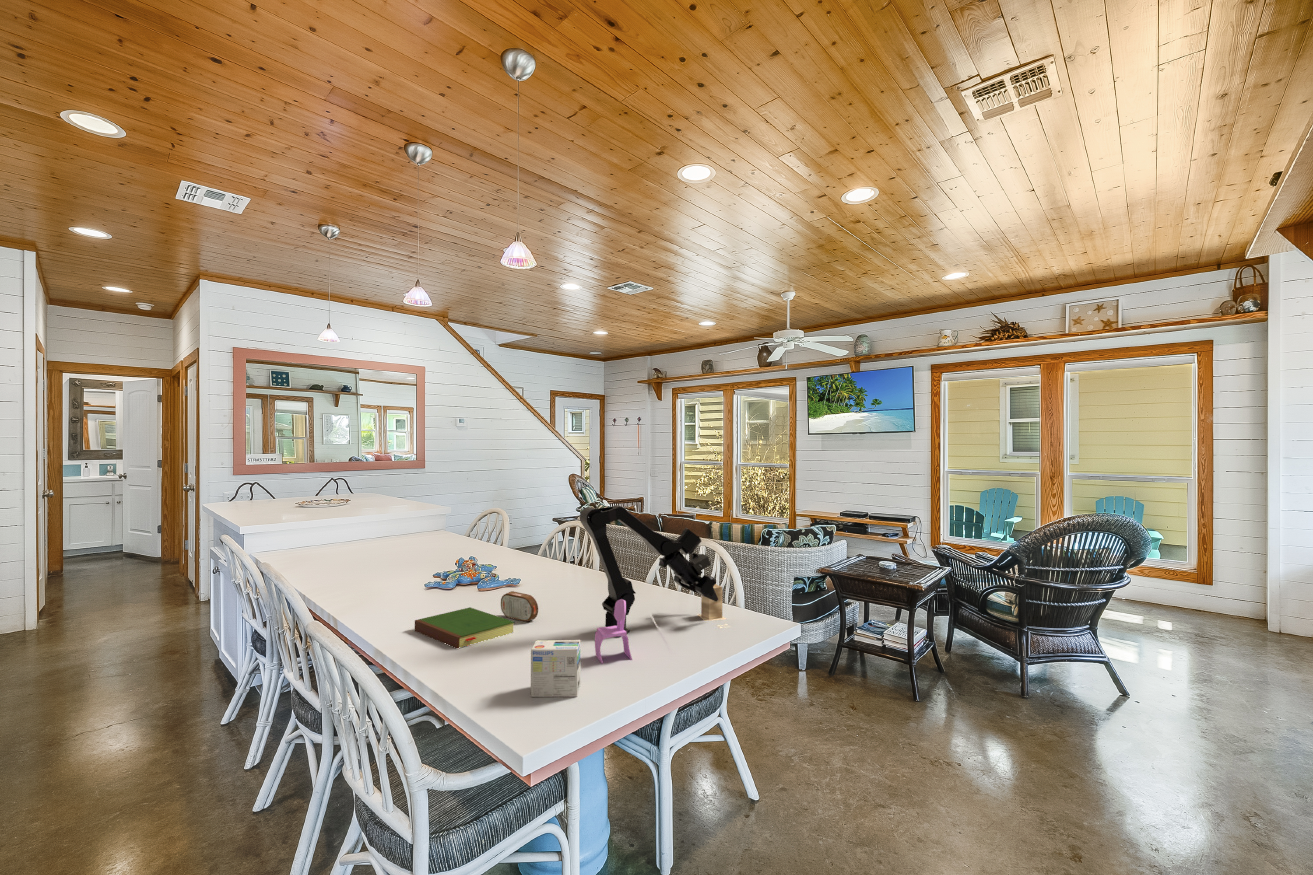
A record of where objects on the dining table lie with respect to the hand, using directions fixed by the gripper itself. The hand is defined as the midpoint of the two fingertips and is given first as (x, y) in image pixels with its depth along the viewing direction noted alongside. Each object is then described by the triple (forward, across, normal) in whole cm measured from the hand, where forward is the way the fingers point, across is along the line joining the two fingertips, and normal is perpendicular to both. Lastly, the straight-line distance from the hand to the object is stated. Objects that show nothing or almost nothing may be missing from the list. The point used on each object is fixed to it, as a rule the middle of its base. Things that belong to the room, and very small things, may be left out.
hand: (709, 596), depth 185 cm
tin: (-34, +27, +46) cm, 63 cm away
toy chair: (-24, -18, +35) cm, 46 cm away
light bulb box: (-37, -32, +49) cm, 69 cm away
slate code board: (+5, -5, +5) cm, 9 cm away
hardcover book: (-46, +20, +58) cm, 77 cm away
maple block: (+5, 0, +4) cm, 7 cm away
